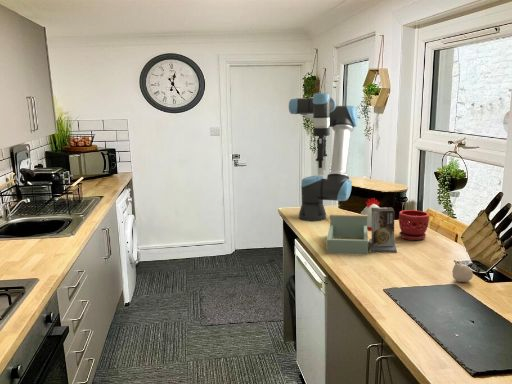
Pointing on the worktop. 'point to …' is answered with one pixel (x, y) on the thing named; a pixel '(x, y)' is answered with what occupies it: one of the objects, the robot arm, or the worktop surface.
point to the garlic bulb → (462, 272)
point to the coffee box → (382, 226)
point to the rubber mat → (382, 248)
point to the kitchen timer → (370, 211)
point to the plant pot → (413, 224)
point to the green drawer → (347, 234)
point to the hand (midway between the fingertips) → (321, 172)
